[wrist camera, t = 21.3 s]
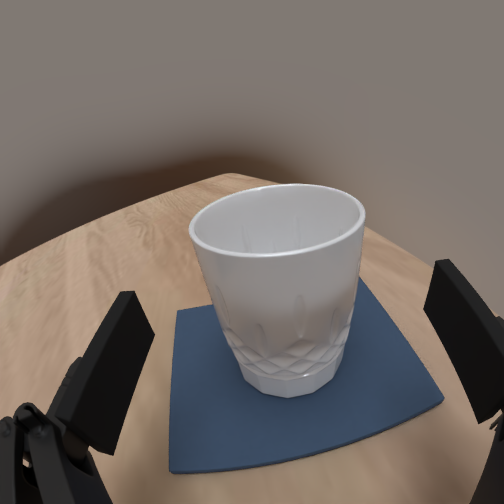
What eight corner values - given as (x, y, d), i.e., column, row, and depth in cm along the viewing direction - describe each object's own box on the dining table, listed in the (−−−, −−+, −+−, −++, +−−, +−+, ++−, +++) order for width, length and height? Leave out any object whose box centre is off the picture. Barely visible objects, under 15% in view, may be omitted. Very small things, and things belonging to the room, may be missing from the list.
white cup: (233, 417, 14) (177, 272, 9) (227, 325, 21) (195, 197, 16) (367, 388, 14) (400, 233, 9) (329, 306, 21) (328, 177, 16)
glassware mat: (356, 278, 24) (357, 273, 24) (441, 402, 12) (445, 397, 12) (178, 315, 23) (176, 310, 23) (172, 473, 11) (168, 471, 11)
